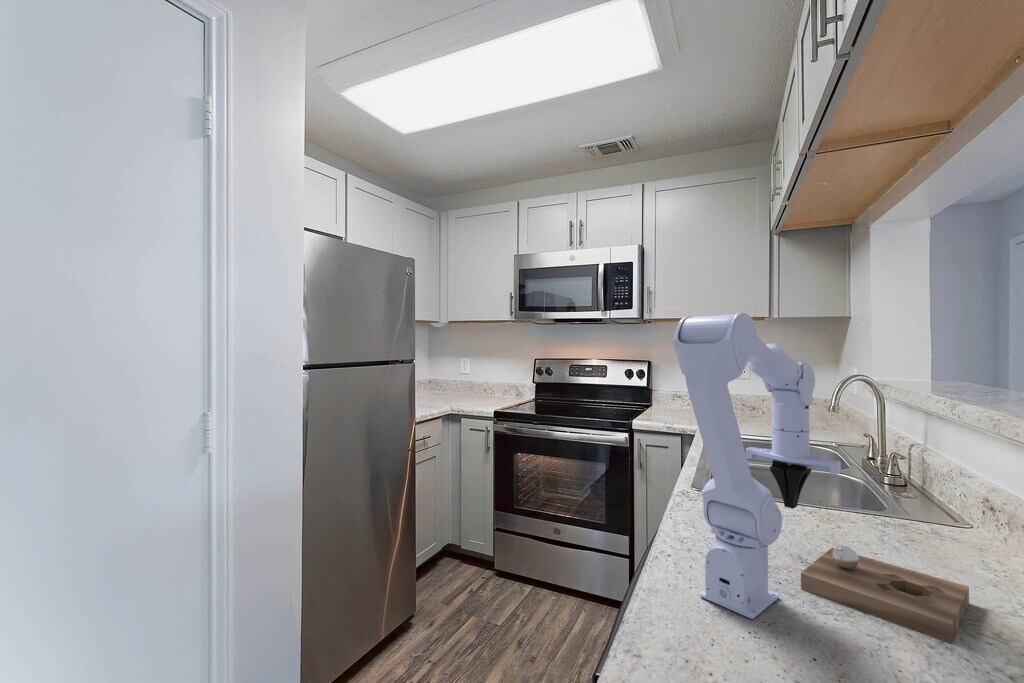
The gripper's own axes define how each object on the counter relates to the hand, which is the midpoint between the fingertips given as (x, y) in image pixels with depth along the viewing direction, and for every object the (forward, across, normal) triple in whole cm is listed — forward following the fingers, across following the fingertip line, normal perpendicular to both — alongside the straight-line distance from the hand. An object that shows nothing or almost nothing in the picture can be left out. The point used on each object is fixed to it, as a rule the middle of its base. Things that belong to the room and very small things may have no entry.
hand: (790, 506), depth 81 cm
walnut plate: (+10, -13, 0) cm, 16 cm away
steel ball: (+6, -8, 0) cm, 10 cm away
